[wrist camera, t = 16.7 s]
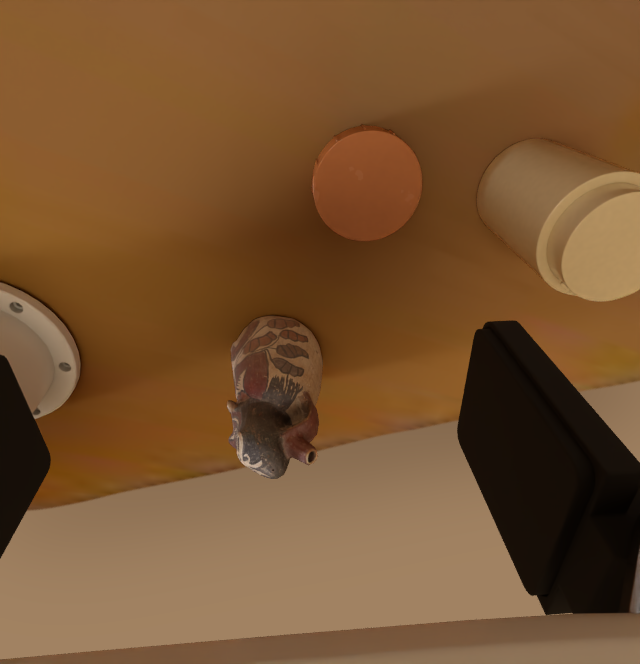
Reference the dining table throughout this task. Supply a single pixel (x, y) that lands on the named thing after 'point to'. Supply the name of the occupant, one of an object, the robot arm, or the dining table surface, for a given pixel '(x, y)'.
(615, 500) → the robot arm
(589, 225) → the honey jar
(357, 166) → the jar lid
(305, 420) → the figurine
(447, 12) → the dining table surface
